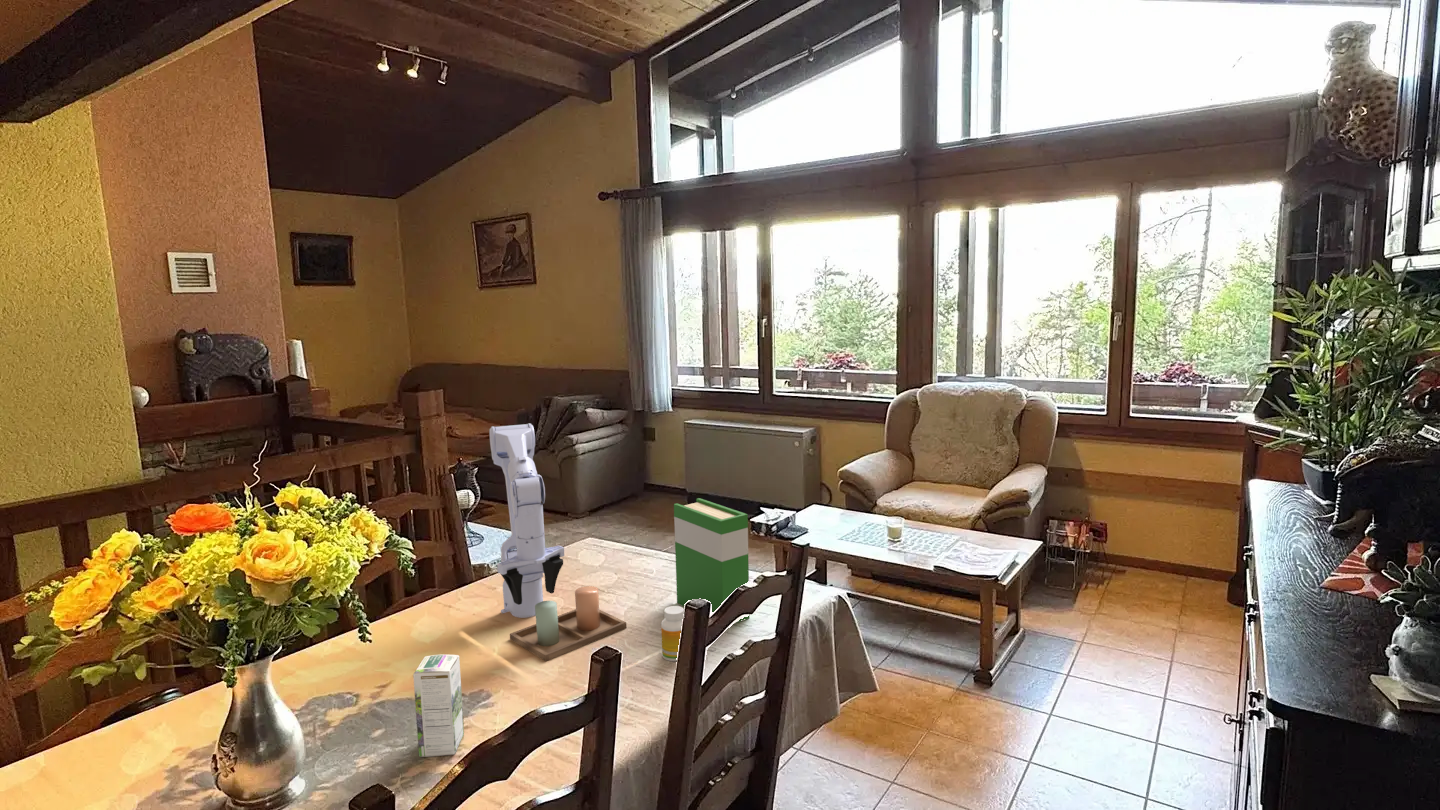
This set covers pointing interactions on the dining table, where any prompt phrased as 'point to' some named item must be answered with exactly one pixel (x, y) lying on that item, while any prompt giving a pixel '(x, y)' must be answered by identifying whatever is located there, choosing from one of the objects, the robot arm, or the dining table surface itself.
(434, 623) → the dining table surface
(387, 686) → the dining table surface
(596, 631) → the walnut tray
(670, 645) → the supplement bottle
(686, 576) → the hardback book
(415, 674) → the syrup box
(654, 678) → the dining table surface
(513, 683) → the dining table surface
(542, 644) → the sage tube
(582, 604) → the peach cylinder pillar
